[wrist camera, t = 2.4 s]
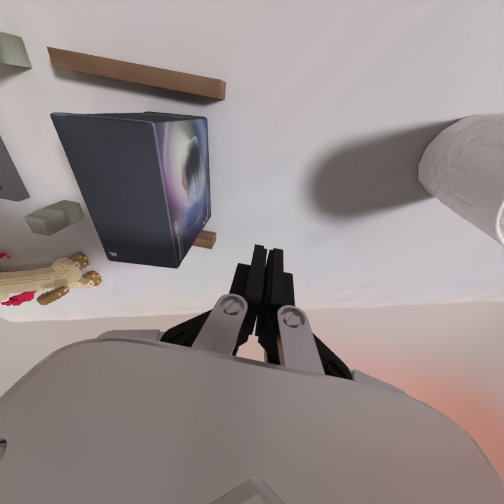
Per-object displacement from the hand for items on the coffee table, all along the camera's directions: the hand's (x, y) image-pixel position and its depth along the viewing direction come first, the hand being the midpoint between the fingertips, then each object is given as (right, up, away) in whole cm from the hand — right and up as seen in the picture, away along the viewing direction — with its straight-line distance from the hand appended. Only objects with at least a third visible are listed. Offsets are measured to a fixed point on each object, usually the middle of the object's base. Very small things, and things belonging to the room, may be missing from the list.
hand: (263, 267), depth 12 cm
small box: (-8, +10, +10) cm, 17 cm away
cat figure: (-38, -2, +23) cm, 45 cm away
